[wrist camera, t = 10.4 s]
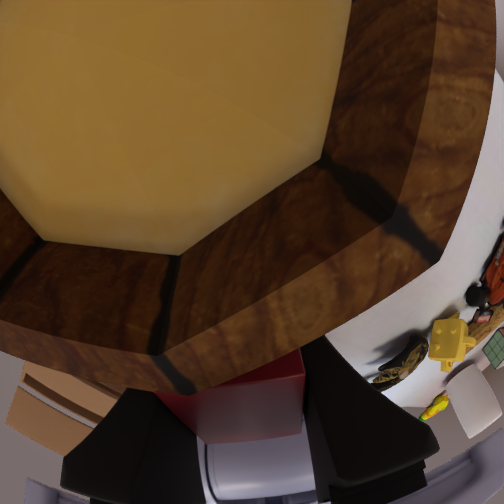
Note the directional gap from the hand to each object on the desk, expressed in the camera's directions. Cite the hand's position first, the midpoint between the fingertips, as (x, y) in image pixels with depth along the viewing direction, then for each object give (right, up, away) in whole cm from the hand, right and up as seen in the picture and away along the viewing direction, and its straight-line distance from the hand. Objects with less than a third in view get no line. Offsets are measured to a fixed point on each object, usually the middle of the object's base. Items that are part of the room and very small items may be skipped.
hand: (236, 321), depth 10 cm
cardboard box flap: (-20, -16, +8) cm, 27 cm away
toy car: (+32, +2, +15) cm, 36 cm away
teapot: (+23, -7, +15) cm, 28 cm away
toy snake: (+19, -18, +22) cm, 34 cm away
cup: (+41, -21, +29) cm, 55 cm away
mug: (-6, +14, +3) cm, 16 cm away
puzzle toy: (+48, -14, +26) cm, 57 cm away
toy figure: (+43, -27, +31) cm, 60 cm away
